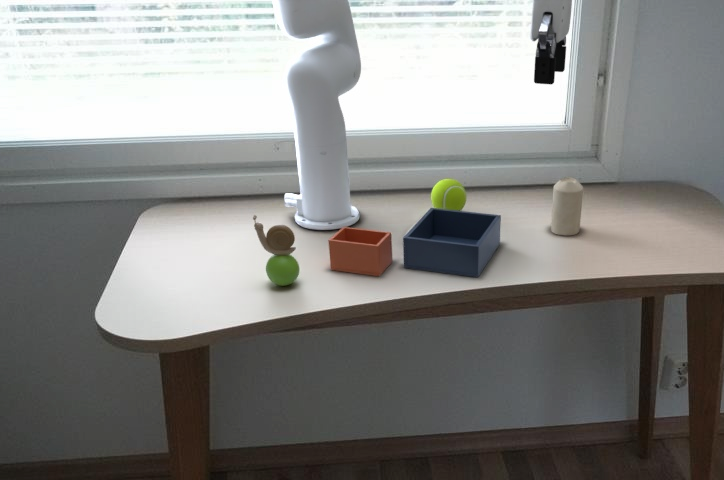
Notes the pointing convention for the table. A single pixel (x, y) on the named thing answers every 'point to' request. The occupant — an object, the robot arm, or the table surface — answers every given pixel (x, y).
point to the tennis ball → (448, 195)
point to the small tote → (360, 251)
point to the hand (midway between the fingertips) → (549, 77)
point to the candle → (566, 207)
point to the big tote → (452, 242)
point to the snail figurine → (279, 253)
